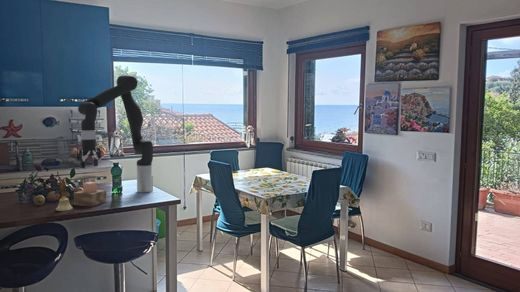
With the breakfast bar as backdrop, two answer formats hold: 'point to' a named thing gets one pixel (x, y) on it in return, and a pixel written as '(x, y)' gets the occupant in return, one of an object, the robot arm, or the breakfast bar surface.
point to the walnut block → (89, 198)
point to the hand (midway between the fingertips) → (89, 167)
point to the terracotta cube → (90, 187)
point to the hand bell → (63, 199)
